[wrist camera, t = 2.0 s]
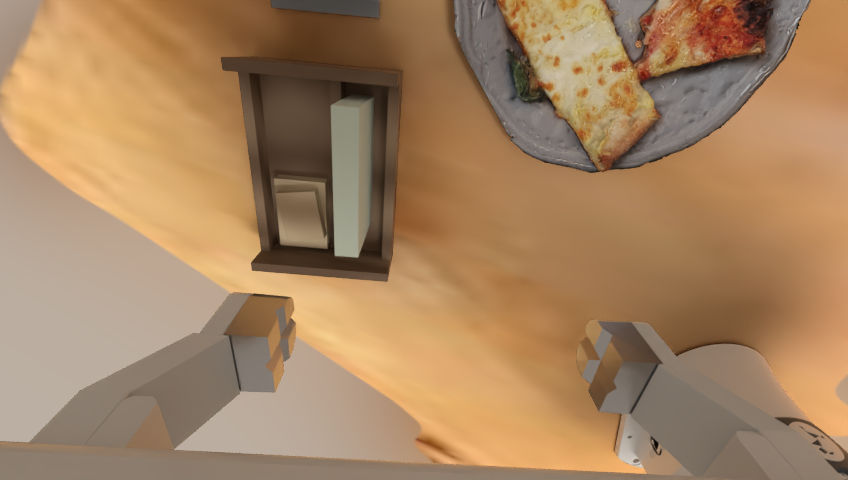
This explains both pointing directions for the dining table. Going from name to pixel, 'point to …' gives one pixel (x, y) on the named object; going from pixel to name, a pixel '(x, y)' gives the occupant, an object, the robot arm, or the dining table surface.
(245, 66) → the rack
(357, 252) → the board
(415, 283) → the dining table surface
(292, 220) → the offcut upper
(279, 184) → the offcut lower
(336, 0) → the stand
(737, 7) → the food plate
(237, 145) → the dining table surface
